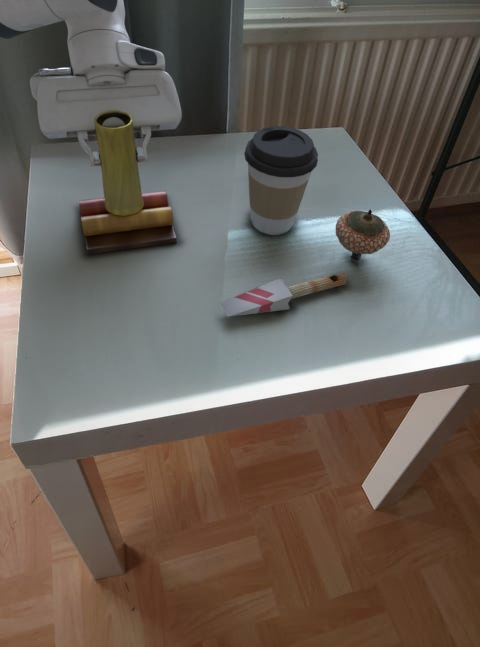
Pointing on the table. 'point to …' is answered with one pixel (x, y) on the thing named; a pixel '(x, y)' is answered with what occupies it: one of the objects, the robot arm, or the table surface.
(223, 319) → the table surface
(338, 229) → the acorn
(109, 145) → the vase
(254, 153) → the coffee cup
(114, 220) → the rod rack
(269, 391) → the table surface
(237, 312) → the sheathed knife
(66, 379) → the table surface
